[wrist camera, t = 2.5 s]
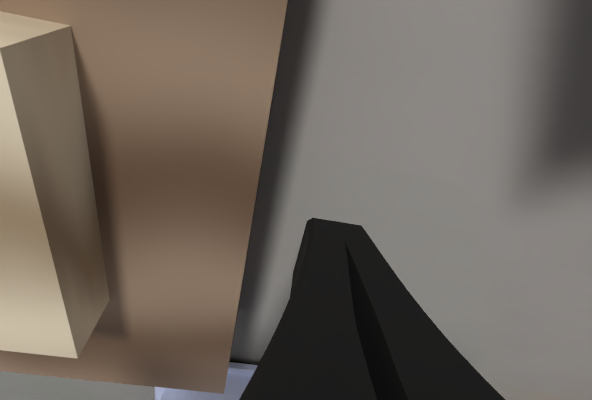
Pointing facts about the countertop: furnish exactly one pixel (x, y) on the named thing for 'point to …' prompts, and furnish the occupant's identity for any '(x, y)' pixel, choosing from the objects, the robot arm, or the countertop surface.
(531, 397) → the countertop surface
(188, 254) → the walnut riser
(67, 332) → the birch tile
